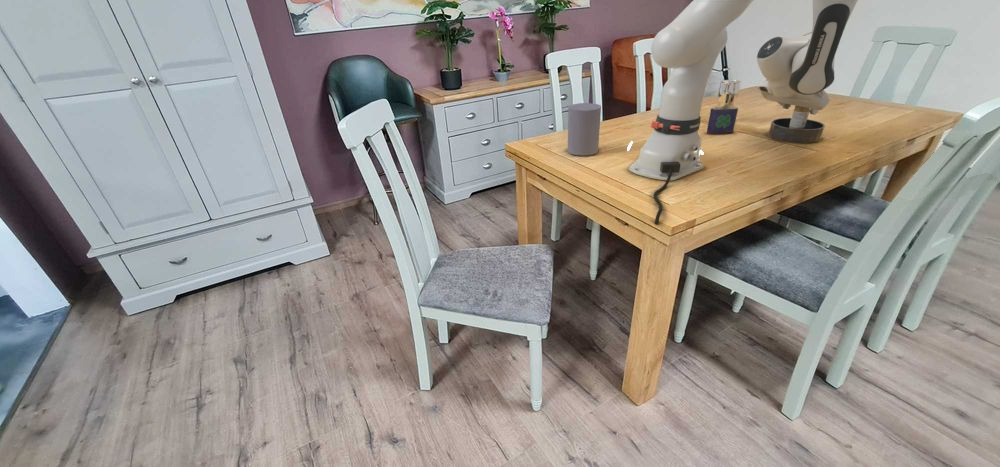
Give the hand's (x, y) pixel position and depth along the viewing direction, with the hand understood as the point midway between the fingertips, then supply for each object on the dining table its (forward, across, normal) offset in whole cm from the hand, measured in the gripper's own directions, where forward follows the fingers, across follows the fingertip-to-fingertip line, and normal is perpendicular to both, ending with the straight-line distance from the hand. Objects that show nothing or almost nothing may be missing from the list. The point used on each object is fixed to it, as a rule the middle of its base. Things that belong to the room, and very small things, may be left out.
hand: (800, 109), depth 136 cm
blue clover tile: (-4, +16, +18) cm, 24 cm away
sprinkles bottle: (+7, +1, +6) cm, 9 cm away
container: (-42, +23, +55) cm, 73 cm away
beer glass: (+4, +27, +9) cm, 29 cm away
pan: (+8, +1, +6) cm, 9 cm away
